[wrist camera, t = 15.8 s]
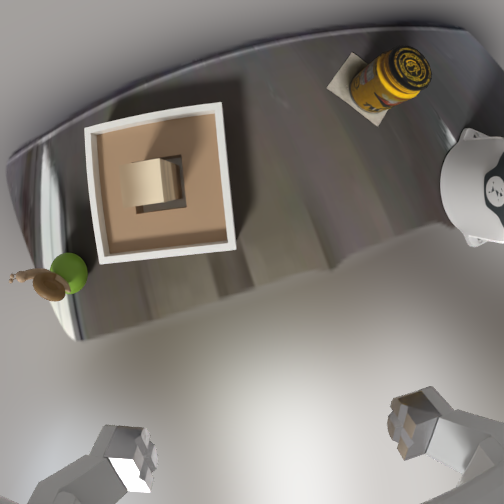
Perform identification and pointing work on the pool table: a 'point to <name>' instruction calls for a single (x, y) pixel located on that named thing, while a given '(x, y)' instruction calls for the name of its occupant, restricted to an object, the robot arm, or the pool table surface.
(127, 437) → the robot arm
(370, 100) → the condiment
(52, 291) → the snail figurine
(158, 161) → the beech peg
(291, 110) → the pool table surface
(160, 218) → the open box
